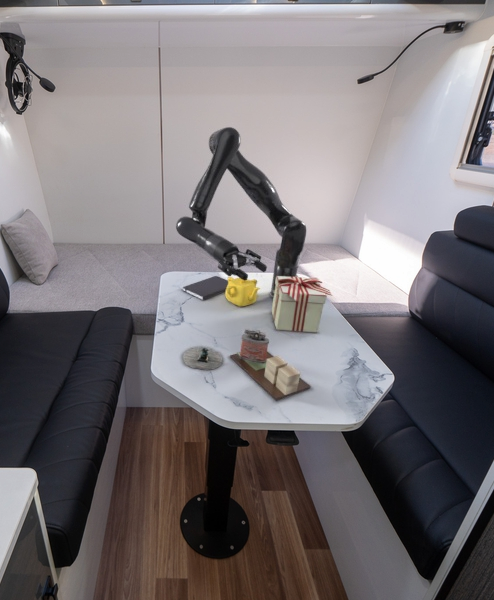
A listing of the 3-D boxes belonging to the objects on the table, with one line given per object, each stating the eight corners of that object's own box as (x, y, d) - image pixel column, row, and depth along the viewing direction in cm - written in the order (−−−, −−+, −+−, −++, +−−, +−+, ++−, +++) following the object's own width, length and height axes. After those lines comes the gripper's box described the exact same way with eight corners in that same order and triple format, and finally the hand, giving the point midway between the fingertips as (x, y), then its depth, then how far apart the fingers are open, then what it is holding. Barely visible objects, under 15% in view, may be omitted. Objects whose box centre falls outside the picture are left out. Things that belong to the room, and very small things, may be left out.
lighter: (266, 358, 114) (270, 330, 109) (265, 365, 111) (269, 336, 106) (240, 353, 116) (243, 325, 112) (238, 359, 113) (241, 330, 109)
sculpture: (228, 367, 111) (213, 354, 107) (204, 386, 113) (189, 373, 108) (214, 344, 121) (200, 331, 117) (193, 362, 123) (178, 349, 118)
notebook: (202, 300, 152) (236, 287, 165) (202, 296, 151) (237, 283, 164) (181, 290, 161) (215, 278, 173) (181, 287, 160) (216, 275, 173)
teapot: (259, 297, 156) (262, 274, 151) (258, 311, 144) (260, 286, 140) (226, 293, 158) (228, 271, 154) (222, 306, 147) (224, 282, 143)
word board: (261, 348, 121) (263, 330, 118) (310, 388, 103) (314, 368, 100) (229, 357, 116) (231, 338, 113) (276, 400, 98) (279, 380, 95)
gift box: (278, 336, 128) (286, 290, 120) (267, 311, 144) (273, 270, 137) (328, 337, 128) (338, 291, 120) (311, 312, 144) (319, 271, 137)
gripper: (206, 245, 118) (242, 270, 109) (237, 234, 125) (274, 256, 116) (203, 265, 123) (238, 290, 114) (234, 253, 130) (268, 276, 121)
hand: (256, 273), depth 115 cm, fingers open, 8 cm apart
